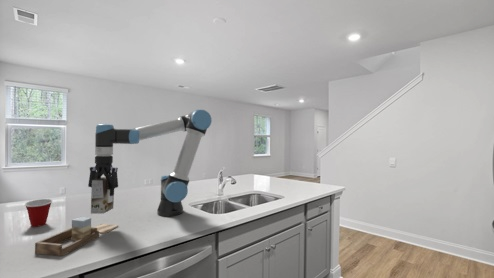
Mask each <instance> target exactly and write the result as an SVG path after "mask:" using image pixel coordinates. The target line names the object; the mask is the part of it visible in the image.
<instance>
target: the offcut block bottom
mask: <svg viewBox="0 0 494 278" xmlns="http://www.w3.org/2000/svg"><path fill="white" fill-rule="evenodd" d="M90 234H91V232H88V233H86V234H84V235H81V234H72V238H70V240H71V241H74V242H76V241H78V240H80V239H82V238H84V237H86V236H88V235H90Z"/></svg>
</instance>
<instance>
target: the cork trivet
mask: <svg viewBox="0 0 494 278" xmlns="http://www.w3.org/2000/svg"><path fill="white" fill-rule="evenodd" d="M93 227H94V228H97V231H99V234H107V233H108V232H110V231H112V230H114V229H116V228H118V227H119V225H116V224H103V223H100V224H98V225H96V226H93Z"/></svg>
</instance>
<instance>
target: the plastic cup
mask: <svg viewBox="0 0 494 278" xmlns="http://www.w3.org/2000/svg"><path fill="white" fill-rule="evenodd" d="M52 204H53V199H50V198H41V199H40V198H39V199H34V200H31V201H28V202H26V203H24V206H25V208H26V210H27V215H28V216H27V217H28V219H29V225H30V226H31V227H34V228H36V227H41V226H45V225H46V224H47V221H48V218H49V213H50V210H51V209H50V208H51V205H52Z"/></svg>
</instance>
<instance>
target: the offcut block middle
mask: <svg viewBox="0 0 494 278" xmlns="http://www.w3.org/2000/svg"><path fill="white" fill-rule="evenodd" d="M91 227H92V224H91V225H89V226H87V227H84V228H79V227H72V226H71V228H72V234H81V235H84V234H86V233H88V232H91Z"/></svg>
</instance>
